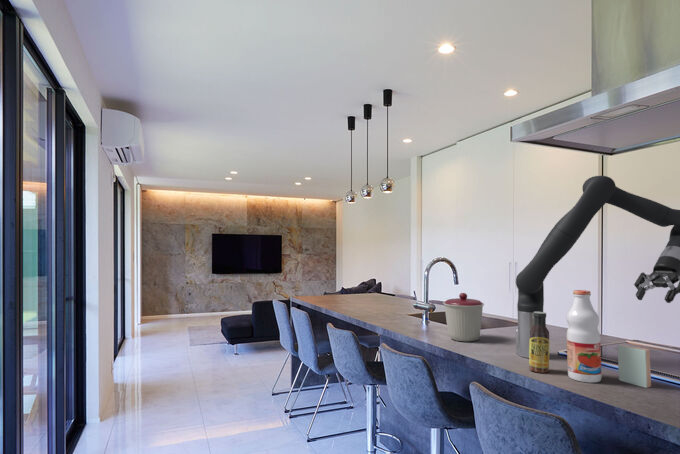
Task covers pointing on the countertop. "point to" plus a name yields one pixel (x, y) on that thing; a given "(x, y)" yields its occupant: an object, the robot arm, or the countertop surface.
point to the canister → (463, 318)
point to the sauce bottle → (539, 344)
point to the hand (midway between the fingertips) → (652, 299)
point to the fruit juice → (583, 340)
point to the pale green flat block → (634, 365)
